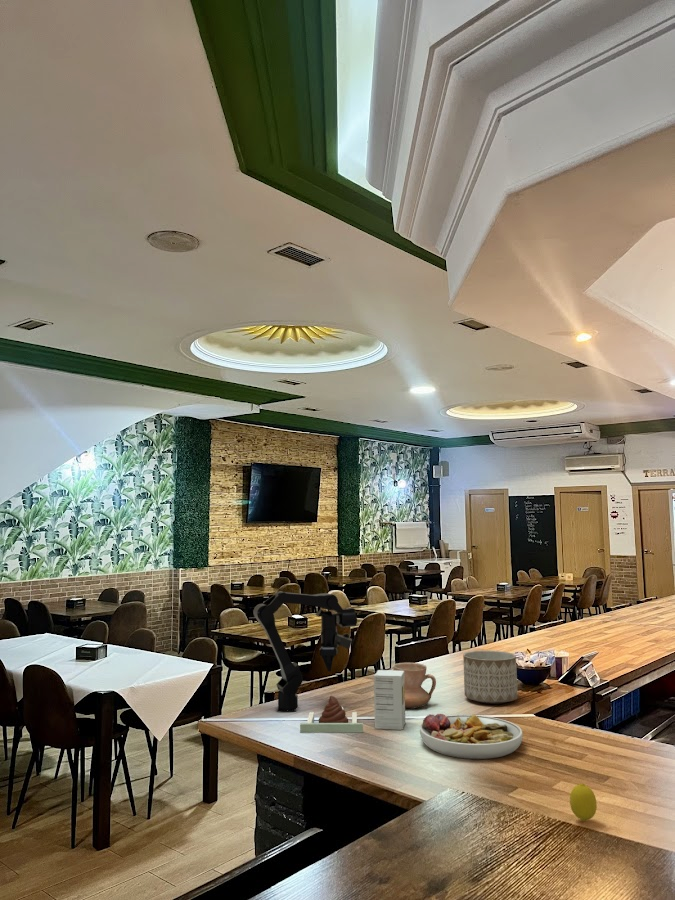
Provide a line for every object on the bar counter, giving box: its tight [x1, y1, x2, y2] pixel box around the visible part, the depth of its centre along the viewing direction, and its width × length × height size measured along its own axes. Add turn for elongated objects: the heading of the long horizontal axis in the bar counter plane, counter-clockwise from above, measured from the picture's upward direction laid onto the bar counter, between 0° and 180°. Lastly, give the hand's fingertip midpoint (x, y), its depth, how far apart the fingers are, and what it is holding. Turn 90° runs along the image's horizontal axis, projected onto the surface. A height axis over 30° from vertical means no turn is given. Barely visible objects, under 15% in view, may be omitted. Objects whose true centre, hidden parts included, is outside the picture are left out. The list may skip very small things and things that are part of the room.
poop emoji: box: [318, 695, 350, 723], centre depth 224 cm, size 10×8×9 cm
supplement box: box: [373, 669, 406, 731], centre depth 223 cm, size 10×9×17 cm
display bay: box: [299, 711, 364, 734], centre depth 223 cm, size 20×14×2 cm
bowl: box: [419, 713, 523, 760], centre depth 202 cm, size 30×30×8 cm
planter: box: [462, 650, 519, 705], centre depth 254 cm, size 19×19×16 cm
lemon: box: [569, 782, 598, 823], centre depth 149 cm, size 6×6×8 cm
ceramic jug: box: [392, 662, 437, 709], centre depth 247 cm, size 18×14×14 cm
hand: (329, 671), depth 250 cm, fingers closed
